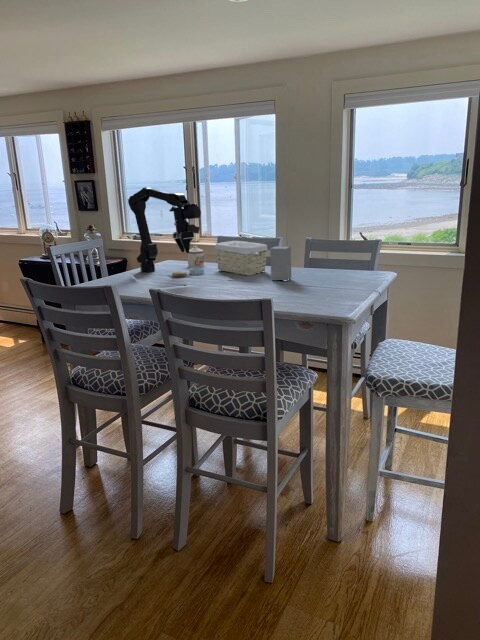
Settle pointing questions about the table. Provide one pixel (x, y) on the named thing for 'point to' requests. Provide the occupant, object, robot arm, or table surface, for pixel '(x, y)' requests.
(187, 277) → the mat
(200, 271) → the bowl
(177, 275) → the lid
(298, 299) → the table surface
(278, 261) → the skincare box
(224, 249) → the storage basket
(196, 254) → the teacup with lid
